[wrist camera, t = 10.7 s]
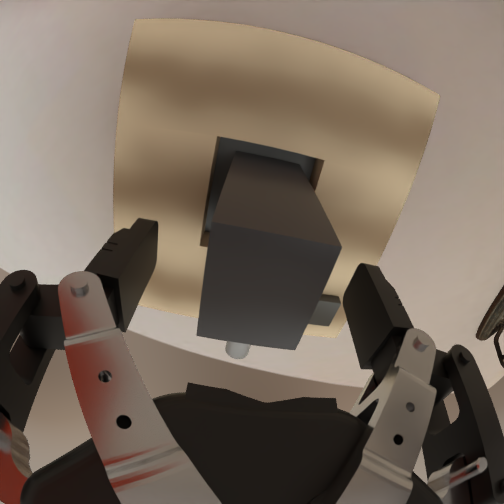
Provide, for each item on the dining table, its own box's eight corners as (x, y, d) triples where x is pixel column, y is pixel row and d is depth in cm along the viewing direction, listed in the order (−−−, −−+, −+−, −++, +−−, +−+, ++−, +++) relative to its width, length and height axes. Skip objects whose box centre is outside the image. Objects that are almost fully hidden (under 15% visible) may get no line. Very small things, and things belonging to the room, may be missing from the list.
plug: (236, 150, 17) (211, 221, 8) (299, 164, 17) (342, 247, 8) (216, 258, 21) (192, 374, 12) (269, 268, 21) (275, 386, 13)
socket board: (153, 28, 13) (129, 16, 10) (416, 92, 14) (447, 96, 11) (132, 278, 23) (116, 307, 20) (329, 313, 25) (337, 345, 22)
